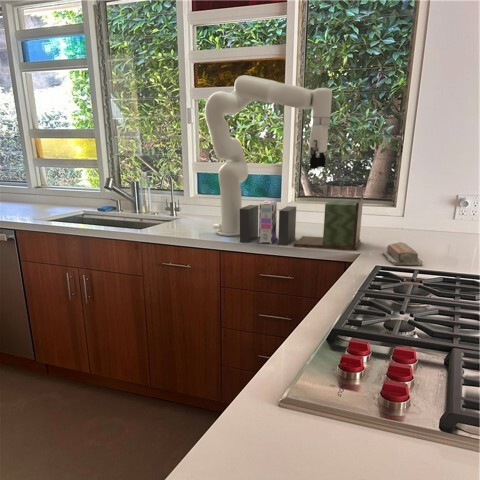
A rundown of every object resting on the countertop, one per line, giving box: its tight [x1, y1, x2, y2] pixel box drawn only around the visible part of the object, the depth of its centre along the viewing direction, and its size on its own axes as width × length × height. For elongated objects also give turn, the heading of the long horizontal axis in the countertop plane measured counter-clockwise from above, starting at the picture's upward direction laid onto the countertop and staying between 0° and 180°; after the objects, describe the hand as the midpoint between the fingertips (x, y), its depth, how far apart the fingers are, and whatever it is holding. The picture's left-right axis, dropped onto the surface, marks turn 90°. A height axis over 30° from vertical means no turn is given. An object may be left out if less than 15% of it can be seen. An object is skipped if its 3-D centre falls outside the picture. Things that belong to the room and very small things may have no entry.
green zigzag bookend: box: [293, 197, 364, 251], centre depth 190 cm, size 25×17×18 cm
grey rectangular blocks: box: [239, 204, 297, 246], centre depth 198 cm, size 21×14×14 cm, turn 71°
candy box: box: [258, 200, 278, 245], centre depth 198 cm, size 14×6×16 cm, turn 168°
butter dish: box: [381, 242, 423, 266], centre depth 166 cm, size 18×5×10 cm
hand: (317, 167), depth 191 cm, fingers open, 9 cm apart
